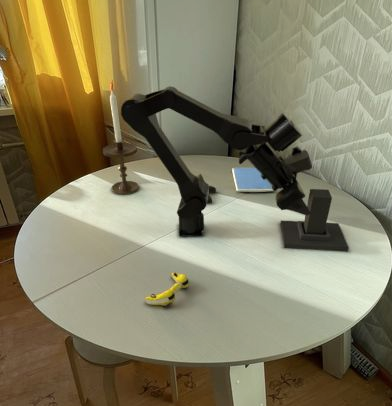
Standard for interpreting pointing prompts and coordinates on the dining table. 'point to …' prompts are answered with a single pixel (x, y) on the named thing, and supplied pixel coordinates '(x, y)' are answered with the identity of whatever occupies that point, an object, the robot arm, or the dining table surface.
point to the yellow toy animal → (169, 291)
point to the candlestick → (120, 152)
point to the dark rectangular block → (317, 211)
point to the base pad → (313, 237)
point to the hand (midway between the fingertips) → (306, 205)
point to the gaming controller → (211, 190)
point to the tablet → (250, 180)
